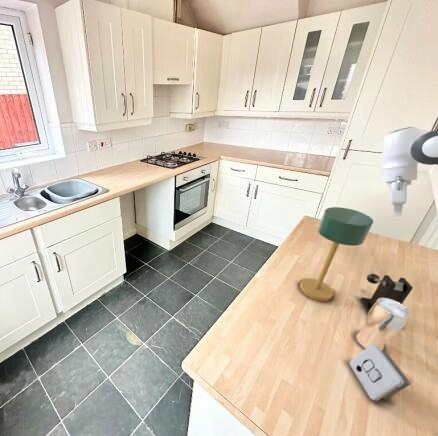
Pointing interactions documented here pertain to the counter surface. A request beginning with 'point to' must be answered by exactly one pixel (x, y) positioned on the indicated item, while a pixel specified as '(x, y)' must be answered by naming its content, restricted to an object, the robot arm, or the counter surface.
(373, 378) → the electrical switch
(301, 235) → the counter surface
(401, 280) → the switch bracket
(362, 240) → the desk lamp
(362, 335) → the beer glass
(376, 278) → the switch lever
